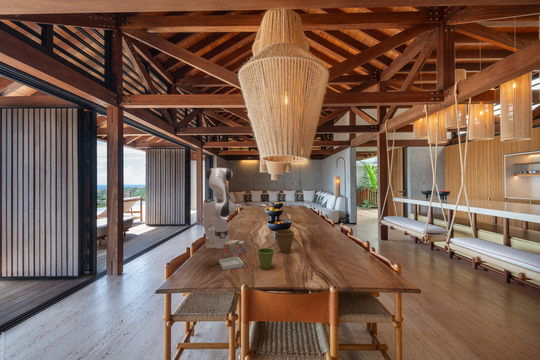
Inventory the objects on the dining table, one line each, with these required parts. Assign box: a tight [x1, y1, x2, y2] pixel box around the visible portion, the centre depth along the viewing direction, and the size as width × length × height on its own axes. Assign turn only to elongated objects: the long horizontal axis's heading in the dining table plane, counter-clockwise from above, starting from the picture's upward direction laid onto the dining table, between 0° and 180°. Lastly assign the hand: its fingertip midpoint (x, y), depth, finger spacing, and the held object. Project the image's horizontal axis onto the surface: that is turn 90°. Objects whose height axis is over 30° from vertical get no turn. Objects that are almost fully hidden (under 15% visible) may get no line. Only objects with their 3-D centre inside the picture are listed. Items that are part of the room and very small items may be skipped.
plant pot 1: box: [256, 247, 275, 270], centre depth 161 cm, size 12×12×11 cm
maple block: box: [205, 238, 215, 249], centre depth 161 cm, size 5×5×5 cm
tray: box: [218, 256, 245, 271], centre depth 165 cm, size 14×14×3 cm
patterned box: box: [223, 239, 247, 259], centre depth 185 cm, size 21×6×12 cm, turn 155°
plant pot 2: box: [275, 229, 294, 253], centre depth 195 cm, size 15×15×16 cm
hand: (209, 244), depth 161 cm, fingers closed on maple block, 5 cm apart
